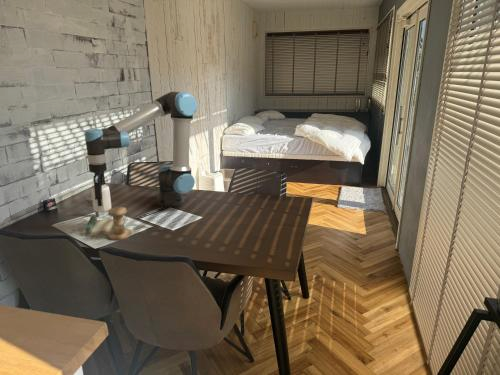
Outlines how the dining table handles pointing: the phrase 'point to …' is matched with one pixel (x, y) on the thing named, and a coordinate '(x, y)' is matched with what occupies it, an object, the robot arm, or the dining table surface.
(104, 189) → the beverage can
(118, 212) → the bobbin
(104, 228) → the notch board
